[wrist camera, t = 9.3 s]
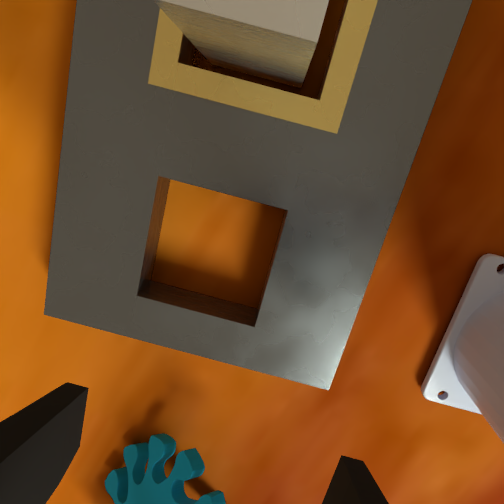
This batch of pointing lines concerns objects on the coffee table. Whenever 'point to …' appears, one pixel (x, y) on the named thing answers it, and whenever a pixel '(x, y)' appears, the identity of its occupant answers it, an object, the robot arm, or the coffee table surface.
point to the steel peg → (252, 34)
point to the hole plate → (239, 176)
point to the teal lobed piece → (157, 475)
